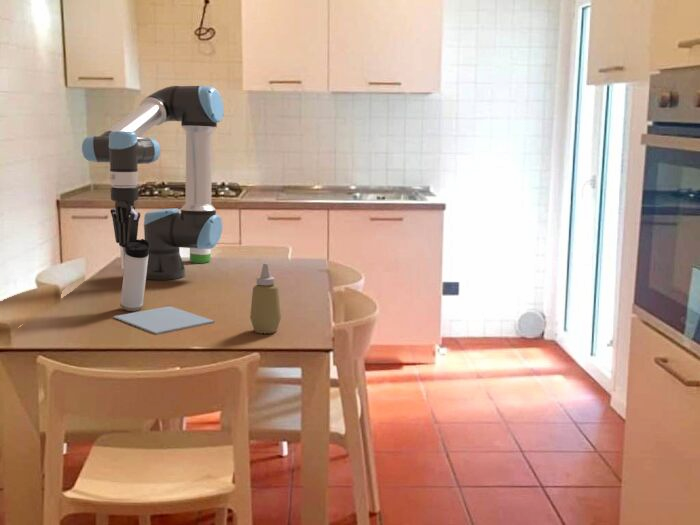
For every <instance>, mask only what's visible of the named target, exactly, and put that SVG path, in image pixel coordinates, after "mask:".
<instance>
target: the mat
mask: <svg viewBox="0 0 700 525" xmlns="http://www.w3.org/2000/svg"><path fill="white" fill-rule="evenodd" d="M113 319H115V320H117V319H118V321H120V320H121V321H120V322H122V321H124V322H123V323H125V322H126V323H125V324H128V325H130V324H131V326H133V327H135V326H136V328H138V327H139V328H138V329H141V330H143V329H144V331H146V332H149V333H152V334H153V335H160V334H165V333H170V332H174V331H179V330H184V329H185V330H186V329H189V328H195V327H200V326H205V325H209V324H214V323H215V320H213V319H210V318H208V317H207V318H206V317H204V316H202V315H201V316H200V315H198V314H195V313H192V312H189V311H186V310H183V309H180V308H176V307H174V306H172V305H170V306H163V307H157V308H153V309H148V310H147V309H146V310H139V311H133V312H131V313H130V312H129V313H125V314H119V315H113Z"/></svg>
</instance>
